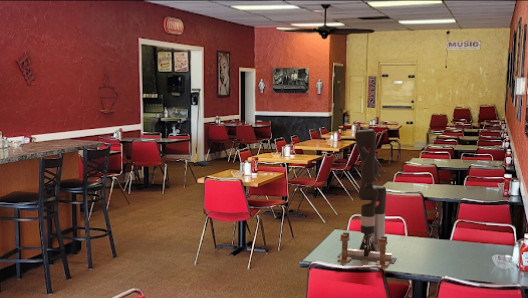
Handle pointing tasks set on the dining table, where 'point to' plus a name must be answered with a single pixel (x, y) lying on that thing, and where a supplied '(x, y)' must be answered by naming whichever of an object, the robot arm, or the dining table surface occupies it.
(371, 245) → the black triangular frame
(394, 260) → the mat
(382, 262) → the stand
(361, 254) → the brown wooden bar
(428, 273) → the dining table surface
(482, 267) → the dining table surface
